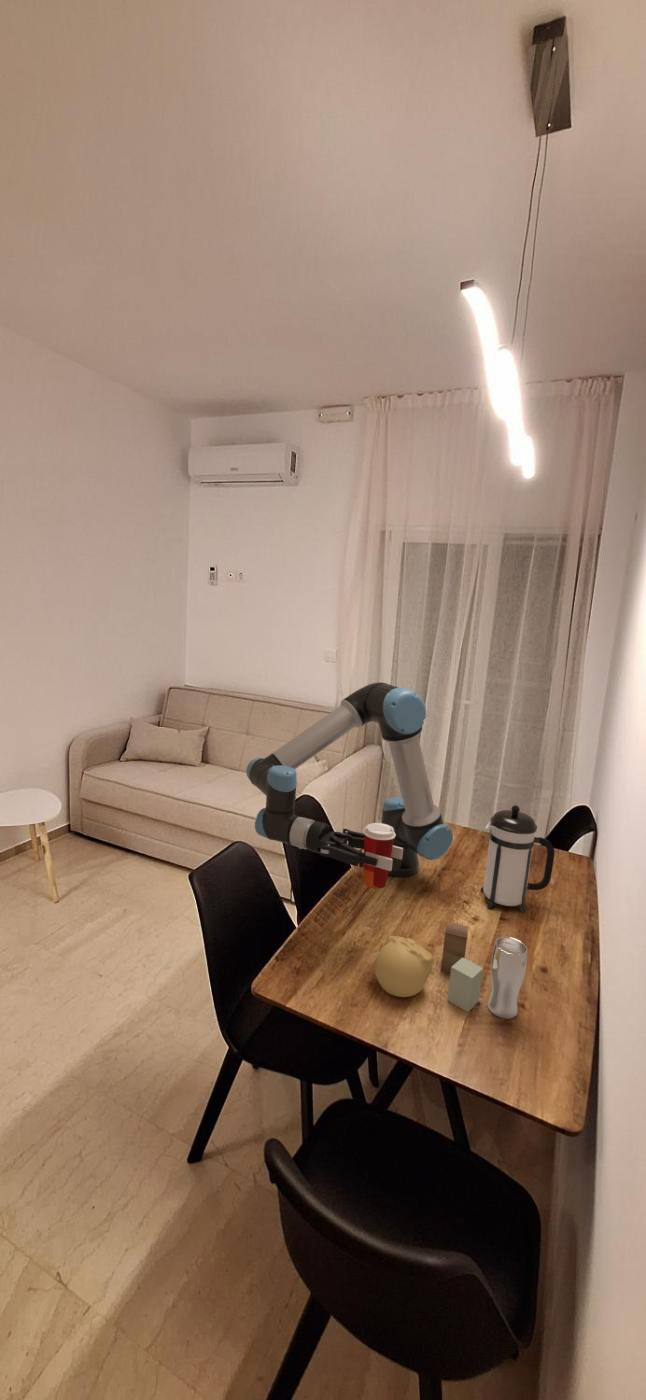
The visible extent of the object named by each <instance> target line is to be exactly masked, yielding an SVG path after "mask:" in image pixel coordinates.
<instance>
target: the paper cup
mask: <svg viewBox="0 0 646 1400" xmlns="http://www.w3.org/2000/svg"><path fill="white" fill-rule="evenodd" d="M362 833H363V834H365V838H364V849H363V853H364V855H365V854H366V852H370V853H373V854H377V855H380V856H384V857H387V858H391V854H392V848H393V841H394V838H395V836H396V834H395V832H394V829H393V827H391V826H389V825H386V824H382V822H372V823H369V824H367V825H366V826H365V827H364V829H363V830H362ZM362 870H363V871H362V873H363V874H362V875H363V877H362V878H363V879H362V880H363V882H362V883H363V885H365V886H367V887H368V888H371V889H383V888H384V887H386V885H387V881H388V877H389V875H388V870H385V869H381V868H378V867H375V866H371V865H368V864H365V863H364V865H363V869H362Z"/></svg>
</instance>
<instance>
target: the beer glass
mask: <svg viewBox="0 0 646 1400" xmlns="http://www.w3.org/2000/svg"><path fill="white" fill-rule="evenodd" d="M494 942H495V943H494V946H493V949H492V956H491V963H490V964H491V965H490V973H491V974H490V975H491V993H490V996H489V999H488V1001H487V1008H488V1009H489V1011H490V1012H491V1013H492V1014H493V1015H495V1016H496V1017H499V1018H501V1019H507V1020H508V1019H513V1018H515V1017H516V1016H517V1015H518V996H519V992H520V990H521V987H522V984H523V982H524V978H525V974H526V972H527V964H528V962H527V960H528V947H527V945H526V944H525V943H524V942H522V941H521V940H519V939H517V938H514V937H511V936H499V937H497V938H496V939H495V941H494Z"/></svg>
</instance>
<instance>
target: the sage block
mask: <svg viewBox="0 0 646 1400" xmlns="http://www.w3.org/2000/svg"><path fill="white" fill-rule="evenodd" d="M483 973H484V968H483V966H480V965H477V963H475V962H473V961H470V960H469V959H466V958H463V957H462V958H461V959H460V960H459V961H458V962H457V963H455V964H454V965H453V966H452V967H451V973H450V974H449V981H448V991H447V1000H446V1001H448V1002H450V1003H452V1004H453V1005H455V1006H457V1007H458V1008H460V1009H461V1010H463V1011H465V1012H467V1013H469V1012H470V1011H471V1009H473V1008H474V1007H475V1005H477V1004H478V1003H479V1001H480V998H481V997H480V995H481V990H482V989H481V988H482V987H481V986H482V983H483V982H482V980H483Z"/></svg>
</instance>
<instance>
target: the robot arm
mask: <svg viewBox="0 0 646 1400" xmlns="http://www.w3.org/2000/svg"><path fill="white" fill-rule="evenodd" d="M426 717H427V708H426V705H425V701H424V700H423V698H422V697H421V696H420V695H418V693H416V692H415V691H412V690H411V689H408V688H405V687H398V686H395V685H392V684H390V683H386V682H373V683H369V684H367V685H365V686H363V687H361V688H359V689H357V690H356V691H354V692H353V693H350V694H349V695H348V696H347V697H345V698H344V699H342V700H341V701H340V704H339V706H338V707H336V708H335V709H334V710H332V711H331V712H330V713H328V714H326V715H325V716H323V717H322V718H321V719H319V720H318V721H316V722H315V723H314V724H312V725H311V726H309V727H307V728H306V729H305V730H304V731H302V732H300V733H299V734H297V735H296V736H295V737H294V738H292V739H291V740H289V741H288V742H286V743H285V744H284V745H282V746H280V747H279V748H278V749H276V750H275V751H274V752H272V753H270V754H269V755H267V756H266V757H265V758H264V757H257V758H253V759H252V760H251V761H249V763H248V764H247V767H246V773H245V774H246V777H247V778H248V780H249V782H250V783H251V784H252V785H253V786H254V787H256V788H257V789H259V791H260V792H261V793H262V794H264V795H265V798H266V800H265V807H264V808H261V809H260V810H259V811H258V813H257V815H256V820H254V830H255V832H256V834H258V835H259V836H261V837H262V838H266V839H268V840H270V841H275V842H279V843H284V844H286V845H290V846H294V847H295V848H296V847H297V848H298V849H300V850H302V849H303V850H308V851H309V852H313V853H316V854H320V856H322V857H326V858H331V859H334V860H335V861H339V862H341V863H345V864H348V865H349V866H354V867H359V868H364V863H365V864H368V865H371V866H375V867H378V868H381V869H385V870H388V876H391V877H397V878H401V877H402V878H404V877H406V878H407V877H411V876H414V875H416V874H417V873H418V872H419V868H420V861H419V857H418V856H420V857H422V858H425V859H426V860H429V861H433V860H438V859H440V858H441V857H443V856H444V855H445V854H447V852H448V851H449V848H450V847H451V846H452V843H453V839H454V833H453V830H452V828H451V827H450V826H449V825H448V824H446V823H445V822H444V821H443V817H442V816H443V815H442V813H441V809H440V808H439V806H437V805H435V804H434V799H433V796H432V790H431V787H430V782H429V778H428V773H427V769H426V764H425V759H424V755H423V752H422V746H421V741H420V737H419V736H420V734H421V733H422V732H423V725H424V724H425V722H424V721H425V720H426ZM371 722H372V723H373V722H374V723H375V724H378V727H379V730H380V735H381V738H382V740H383V741H385V742H387V743H388V744H389V749H390V755H391V757H392V760H393V761H392V762H393V765H394V770H395V773H396V777H397V781H398V782H397V783H398V787H399V789H400V795H401V796H393V797H389V798H387V799H385V800H384V801H383V806H382V812H381V813H382V814H381V815H382V816H381V823H382V824H386V825H389V826H391V827H393V829H394V832H395V834H396V836H395V838H394V841H393V848H392V854H391V858H387V857H384V856H380V855H377V854H373V853H370V852H366V854H365V855H364V851H363V852H362V851H361V850H364V838H365V834H364V833H363V832H358V831H353V830H351V829H348V828H343V829H342V832H341V831H333V830H332V829H331V826H330V825H329V824H328V823H326V822H321V821H317V820H316V821H315V820H314V819H311V818H307V817H302V816H298V815H296V814H295V805H296V804H295V803H296V794H297V793H296V790H297V787H298V781H297V771H296V770H297V768H300V766H302V765H304V764H305V763H306V762H308V761H309V760H311V759H312V758H313V757H314V756H316V755H318V754H319V753H321V752H322V751H324V750H325V749H326V748H328V747H329V746H331V744H333V743H334V742H336V741H338V740H339V739H340V738H341V737H343V736H344V735H345V734H347V733H348V732H350V731H351V730H352V729H354V728H362V727H363V726H364V725H365V724H367V723H371ZM358 849H361V850H358Z"/></svg>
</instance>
